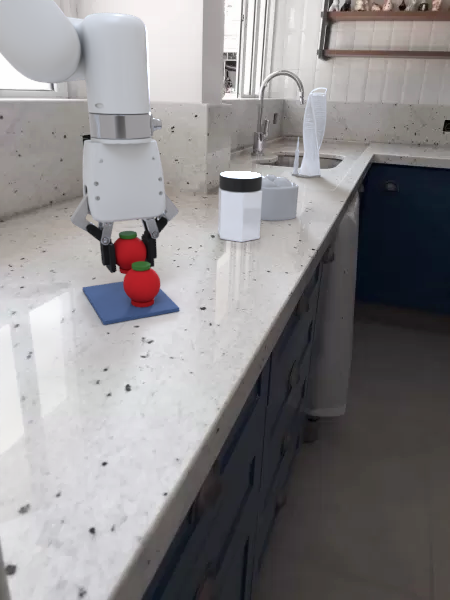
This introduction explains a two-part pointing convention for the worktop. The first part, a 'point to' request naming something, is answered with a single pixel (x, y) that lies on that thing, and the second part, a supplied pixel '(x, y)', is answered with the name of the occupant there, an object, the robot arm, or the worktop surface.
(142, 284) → the red round lidded pot
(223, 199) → the jar
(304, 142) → the skyscraper
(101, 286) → the cloth
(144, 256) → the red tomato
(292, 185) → the lumpy-topped squat cylinder
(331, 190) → the worktop surface
